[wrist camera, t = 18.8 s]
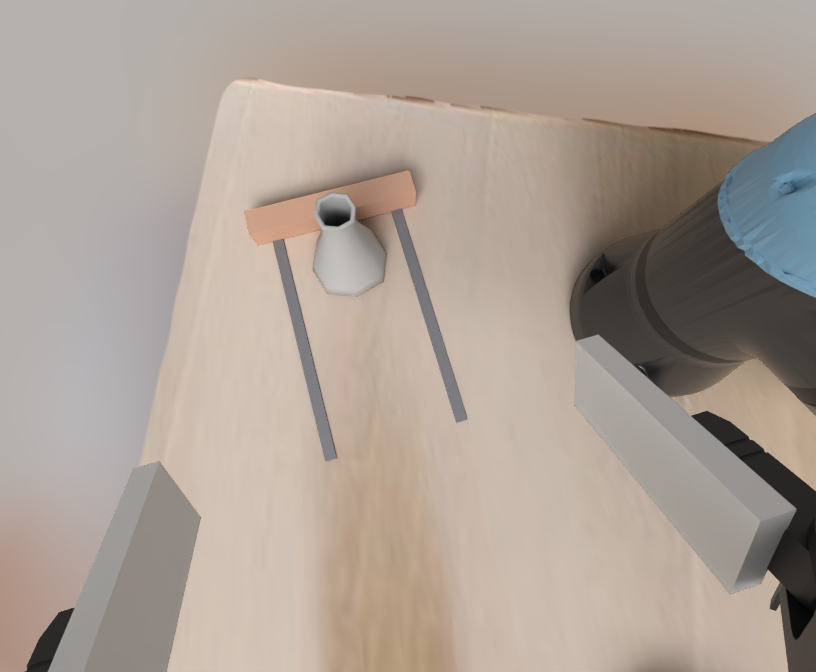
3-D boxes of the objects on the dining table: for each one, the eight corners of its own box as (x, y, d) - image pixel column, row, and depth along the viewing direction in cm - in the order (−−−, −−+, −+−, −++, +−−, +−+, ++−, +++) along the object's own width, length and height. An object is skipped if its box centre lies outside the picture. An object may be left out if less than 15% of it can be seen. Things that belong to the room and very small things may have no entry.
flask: (394, 289, 42) (392, 244, 32) (319, 305, 42) (295, 264, 32) (378, 221, 44) (372, 159, 34) (306, 236, 43) (279, 177, 33)
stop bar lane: (408, 184, 44) (409, 169, 42) (482, 414, 39) (488, 413, 37) (252, 223, 43) (243, 211, 41) (308, 466, 38) (302, 468, 36)
